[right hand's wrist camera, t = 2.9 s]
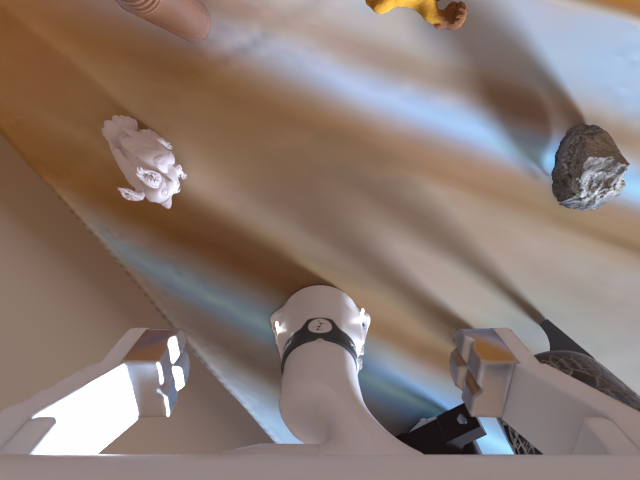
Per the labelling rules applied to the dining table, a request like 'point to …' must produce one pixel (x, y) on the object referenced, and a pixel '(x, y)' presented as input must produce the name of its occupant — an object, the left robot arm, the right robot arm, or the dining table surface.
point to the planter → (578, 366)
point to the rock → (587, 168)
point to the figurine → (143, 161)
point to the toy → (427, 11)
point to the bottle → (173, 16)
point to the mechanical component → (446, 434)
